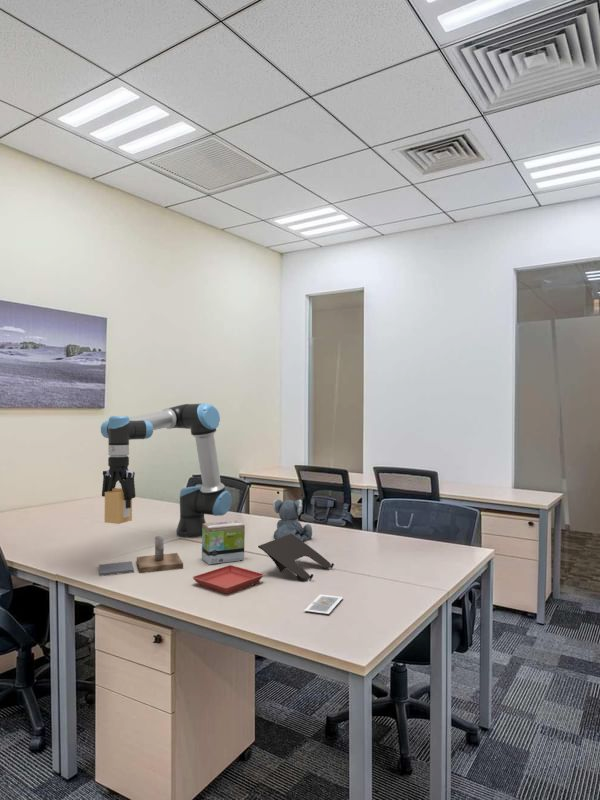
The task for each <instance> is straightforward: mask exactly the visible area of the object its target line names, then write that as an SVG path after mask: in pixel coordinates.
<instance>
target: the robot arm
mask: <svg viewBox="0 0 600 800" xmlns="http://www.w3.org/2000/svg"><path fill="white" fill-rule="evenodd" d="M220 420H221V416H220V412H219V411H218V409H217V407H215V406H214V405H213V404H209V403H185V404H184V403H183V404H179V405H175V406H171V407H167V408H163V409H162V411H157V412H151V413H147V414H142V415H137V416H131V417H129V415H112V416H111V415H110V416H109V418H108V420H105V421H103V422H102V424H101V426H100V434H101V435H102V437H103V438H106V439H108V440H107V443H108V453H107V454H108V458H107V459H108V460H107V465H108V467H109V469H108V470H103V471H102V475H103V477H102V480H103V481H102V489H101V496H102V497H104V498H105V492H107V491H112V488H116V486H117V482H119V484H120V486H121V489H122V490H123V492H124V497H125V499H124V500H123V518H125V517H129V516H130V508H131V499H132V500H133V499H134V498H136V488H135V475H136V473H135V471H129V469H128V467H129V466H130V465H129V464H130V457H129V455H130V441H131V440H133V441H134V440H146V439H147V440H148V439H150V438H151V437H152V436H153V434H154V431H157V430H161V429H169V430H171V429H185V430H186V429H188V430H190V434H191V436H192V437H194V438H195V444H196V445H195V446H196V450H197V457H198V463H199V469H200V477H201V482H202V483H201V484H202V485H195V486H188V487H183V488H182V489H180V491H179V521H178V524H177V527H176V531H175V533H176V534H175V535H176V536H177V537H179V538H198V537H202V525H203V523H207V521H206V519H205V515H209V516H214V517H215V516H216V517H217V516H224V515H226V514H227V513H229V510H230V508H231V506H232V502H233V501H232V500H233V499H232V497H233V496H232V495H231V493H230V492H229V491H227V490H226V486H225V484H224V483H222V482H221V476H220V469H219V461H218V453H217V449H216V440H215V434H216V432H217V428H218V427H219V425H220V422H221V421H220Z"/></svg>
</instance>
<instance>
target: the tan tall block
mask: <svg viewBox="0 0 600 800" xmlns="http://www.w3.org/2000/svg"><path fill="white" fill-rule="evenodd" d="M124 499H125V497H124V492H123V490H122V487H121V488H119V487H115V488H112V491H107V492H105V497H104V523H106V524H115V525H120V524H124V523H128V522H131V521H133V513H132V512H133V498H132V499H131V508H130V516H129V517H125V518H123V500H124Z"/></svg>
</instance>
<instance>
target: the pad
mask: <svg viewBox="0 0 600 800" xmlns="http://www.w3.org/2000/svg"><path fill="white" fill-rule="evenodd" d="M99 569H100V570H99V576H100V575H104V576H108V575H107V574H114V575H118V574H117V573H123V574H130V573H129V572H132V573H134V572H135V570H134V565H133V562H132V561H121V562H112V563H103V564H102V563H101V564H100V563H99Z"/></svg>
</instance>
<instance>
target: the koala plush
mask: <svg viewBox="0 0 600 800" xmlns="http://www.w3.org/2000/svg"><path fill="white" fill-rule="evenodd" d="M272 504H273V505H272V509H273V511H274V512H275V514H278V516H279V520H278V521H277V524H276V529H275V530H274V532H273V540H275V539H278V538H281V537H283V536H286V535H289V534H293V535H294V536H296V537H297V538H299V539H300V540H301V541H303V542H304V541H305V542H306V541H309V540H310V539H311V538H312V536H313V529H312V528H313V527H312V525H311V524H305V525H304V526H302V524H301V523H300V521H299V520H298V519H299V516H300V515H301V514H302V512H303V500H301V498H300V499H297V500H292V499H286V500H285V501H283V500H282V499H275V500H273V502H272Z"/></svg>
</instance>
